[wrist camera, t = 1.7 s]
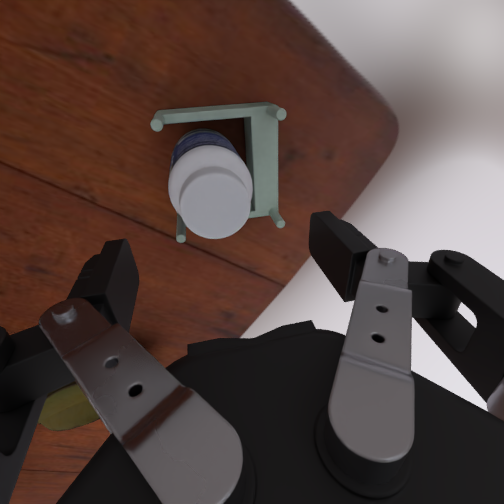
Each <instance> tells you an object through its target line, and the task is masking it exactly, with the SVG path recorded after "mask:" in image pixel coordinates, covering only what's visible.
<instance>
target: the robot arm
mask: <svg viewBox="0 0 504 504" xmlns="http://www.w3.org/2000/svg"><path fill="white" fill-rule="evenodd" d="M309 250H310V253H311V256H312V257H313V258H314V260H315V261H316V263H317V264H318V266H319V267H320V268H321V270H322V271H323V272H324V274H325V275H326V277H327V278H328V280H329V281H330V282H331V284H332V285H333V287H334V288H335V289H336V291H337V292H338V294H339V295H340V297H341V298H342V299H343V301H344V302H348V301H353V300H355V301H354V306H353V309H352V313H351V317H350V322H349V325H348V329H347V333H346V336H345V335H343V334H340V333H337V332H334V331H329V330H322V329H316V328H315V326H314V324H313V322H312V321H311V320H310V321H304V322H299V323H295V324H289V325H284V326H281V327H278V328H276V329H274V330H272V331H270V332H267V333H265V334H263V335H260V336H258V337H256V338H250V339H248V338H247V339H246V338H218V339H213V340H208V341H203V342H198V343H193V344H187V345H188V355H186V356H184V357H182V358H180V359H178V360H177V361H175V362H173V363H172V364H170V365H169V366H168V367H166V368H164V367H163V366H162V365H161V364H160V363H159V362H158V361H157V360H156V359H155V358H154V357H153V356H152V355H151V354H150V353H149V352H148V351H147V350H146V349H145V348H144V347H143V346H142V345H141V344H139V343H138V342H137V341H136V340H135V339H134V338H133V337H132V336H131V335H130V334H129V329H130V324H131V320H132V315H133V310H134V305H135V300H136V296H137V291H138V286H139V274H138V269H137V266H136V263H135V260H134V257H133V254H132V251H131V248H130V245H129V243H128V241H127V239H119V240H112V241H106V242H105V245H104V247H103V249H102V251H101V253H100V254H97V255H94V256H93V257H92V258H90V259H89V260H88V261H87V262H86V263H85V264H84V266H83V268H82V270H81V273H80V274H79V276H78V280H76V282H75V284H74V286H73V288H72V290H71V292H70V293H69V295H68V297H67V299H66V300H64V301H61V302H59V303H57V304H55V305H53V306H52V307H50V308H49V309H48V310H46V311H45V312H44V313H43V314H42V316H41V317H40V319H39V325H37V326H34V327H32V328H29V329H26V330H23V331H21V332H18V333H15V334H12V335H9V334H8V332H7V331H6V330H5V328H3V327H1V326H0V504H9V501H10V498H11V496H12V493H13V490H14V487H15V484H16V482H17V479H18V476H19V473H20V470H21V468H22V465H23V462H24V459H25V456H26V454H27V451H28V448H29V445H30V442H31V439H32V437H33V434H34V431H35V428H36V425H37V423H38V420H39V417H40V414H41V411H42V409H43V406H44V403H45V400H46V397H47V395H48V393H50V392H52V391H55V390H57V389H59V388H61V387H63V386H65V385H68V384H70V383H72V382H74V381H75V382H76V383H77V385H78V386H79V388H80V389H81V391H82V392H83V394H84V395H85V396H86V398H87V399H88V401H89V402H90V404H91V405H92V407H93V408H94V410H95V411H96V413H97V414H98V416H99V417H100V419H101V420H102V422H103V423H104V425H105V426H106V428H107V429H108V431H109V432H110V436H109V437H108V438H107V440H106V441H105V442H104V443H103V445H102V446H101V447H100V448H99V450H98V451H97V452H96V453H95V455H94V456H93V457H92V459H91V460H90V461H89V462H88V464H87V465H86V466H85V467H84V469H83V470H82V471H81V473H80V474H79V475H78V476H77V478H76V479H75V480H74V481H73V483H72V484H71V485H70V486H69V488H68V489H67V490H66V492H65V493H64V494H63V495H62V497H61V498H60V499H59V500H58V502H57V503H56V504H504V280H502V279H501V278H500V277H498V276H497V275H495V274H494V273H492V272H491V271H490V270H488V269H487V268H485V267H484V266H482V265H481V264H479V263H478V262H476V261H475V260H474V259H472V258H471V257H469V256H467V255H465V254H462V253H460V252H456V251H451V250H438V251H435V252H433V253H432V254H431V257H430V260H429V262H410V261H408V259H407V257H406V256H405V255H404V254H402V253H400V252H398V251H396V250H393V249H387V248H378V247H377V246H375V245H374V244H373V243H372V242H371V241H370V240H369V239H367V238H366V237H365V236H364V235H363V234H362V233H361V232H359V231H358V230H357V229H356V228H355V227H354V226H353V225H352V224H350V223H348V222H346V221H343V220H339V219H338V218H337V217H336V216H334V215H333V214H332V213H331V212H330V211H323V212H316V213H312V214H311V218H310V232H309ZM461 302H462V303H463V304H465V305H466V306H467V307H468V308H469V309H470V310H471V311H472V312H473V313H474V315H475V316H476V319H477V327H476V328H475V327H474V326H472V325H471V324H470V323H469V322H468V321H467V320H466V319H465V318H464V317H463V316H462V315H461V314H460V313H459V312H458V311H457V310H458V308H459V305H460V303H461ZM412 317H413V318H414V319H415V320H416V321H417V323H418V324H419V325H420V326H421V327H422V328H423V330H424V331H425V332H426V333H427V334H428V335H429V337H430V338H431V339H432V340H433V341H434V342H435V344H436V345H437V346H438V347H439V348H440V349H441V351H442V352H443V353H444V354H445V355H446V356H447V357H448V359H449V360H450V361H451V362H452V363H453V365H454V366H455V367H456V368H457V369H458V370H459V372H460V373H461V374H462V375H463V376H464V377H465V378H466V380H467V381H468V382H469V383H470V384H471V386H472V387H473V388H474V389H475V390H476V391H477V392H478V394H479V395H480V396H481V397H482V398H483V399H484V401H485V402H486V403H487V409H488V412H487V411H485V410H484V409H482V408H480V407H478V406H476V405H474V404H472V403H471V402H469V401H467V400H465V399H463V398H461V397H459V396H458V395H456V394H454V393H452V392H450V391H448V390H447V389H445V388H443V387H441V386H439V385H437V384H435V383H434V382H432V381H430V380H428V379H426V378H424V377H422V376H421V375H419V374H417V373H415V372H413V371H411V330H412V329H411V328H412Z"/></svg>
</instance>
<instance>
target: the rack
mask: <svg viewBox="0 0 504 504" xmlns="http://www.w3.org/2000/svg"><path fill="white" fill-rule="evenodd" d="M243 117H244V130H245V147H246V163H247V169H248V170H249V173H250V175H251V179H252V184H253V193H252V198H251V208H250V214H249V217H248V218H253V217H261V216H268V215H270V216H271V218H272V219H273V221H274V223H275V224H276V226H277V227H278V228H282V227H284V225H285V222H284V220H283V219H282V217H281V216H280V214H279V213H278V120H280V121H281V120H284V119H285V117H286V111H285V110H284V109H283V108H280V107H278V105H275V104H272V103H269V102H257V103H244V104H232V105H219V106H206V107H194V108H181V109H168V110H158V111H157V112H156V113H155V115H154V118H153V119H152V121H151V128H152V129H153V130H154V131H157V132H158V131H161V130H162V128H163V125H164V124H173V123H185V122H196V121H208V120H219V119H231V118H243ZM186 227H187V226H186V224H185V223H184V221H183V219H182V217H181V216H180V215H179V214H178V212H177V232H176V240H177V241H178V242H180V243H182V242H184V241H185V240H186Z"/></svg>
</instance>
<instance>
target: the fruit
mask: <svg viewBox="0 0 504 504" xmlns="http://www.w3.org/2000/svg"><path fill="white" fill-rule="evenodd" d="M98 419H100V417H99V416H98V414H97V413H96V411H95V410H94V408H93V407H92V405H91V404H90V402H89V401H88V399H87V398H86V396H85V395H84V394H83V392H82V391H81V389H80V388H79V386H78V385H77V383H76V382H75V381H74V382H72V383H70V384H68V385H65V386H63V387H61V388H59V389H57V390H55V391H52V392H50V393H48V395H47V397H46V400H45V403H44V406H43V409H42V411H41V414H40V417H39V420H38V423H40V424H42V425H43V426H45V427H46V428H48V429H49V430H53V431H62V430H69V429H73V428H76V427H80V426H83V425H86V424H89V423H92V422H94V421H96V420H98Z"/></svg>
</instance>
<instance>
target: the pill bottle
mask: <svg viewBox="0 0 504 504" xmlns="http://www.w3.org/2000/svg"><path fill="white" fill-rule="evenodd" d="M168 190H169V196H170V200H171V202H172V205H173V206H174V208H175V210H176V211H177V212H178V214H179V215H180V216H181V217H182V219H183V221H184V223H185V224H186V226H187V227H188V228H189V229H190V230H191V231H192V232H194V233H195V234H197V235H199V236H201V237H205V238H209V239H220V238H225V237H228V236H230V235H232V234H234V233H236V232H237V231H238V230H239V229H240V228H242V226H243V225H244V224H245V222H246V221H247V219H248V217H249V214H250V208H251V198H252V193H253V184H252V179H251V175H250V173H249V170H248V169H247V167H246V165H245V163H244V161H243V160H242V159H241V157H240V156H239V154H238V153H237V151H236V150H235V148H234V147H233V145H232V144H231V142H230V141H229V140H228V139H227V138H226V137H225V136H223V135H222V134H220V133H219V132H217V131H214V130H211V129H196V130H192V131H190V132H188V133H186V134H185V135H184V136H182V137H181V138H180V139H179V141H178V142H177V144H176V145H175V147H174V150H173V153H172V157H171V165H170V172H169V181H168Z"/></svg>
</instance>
